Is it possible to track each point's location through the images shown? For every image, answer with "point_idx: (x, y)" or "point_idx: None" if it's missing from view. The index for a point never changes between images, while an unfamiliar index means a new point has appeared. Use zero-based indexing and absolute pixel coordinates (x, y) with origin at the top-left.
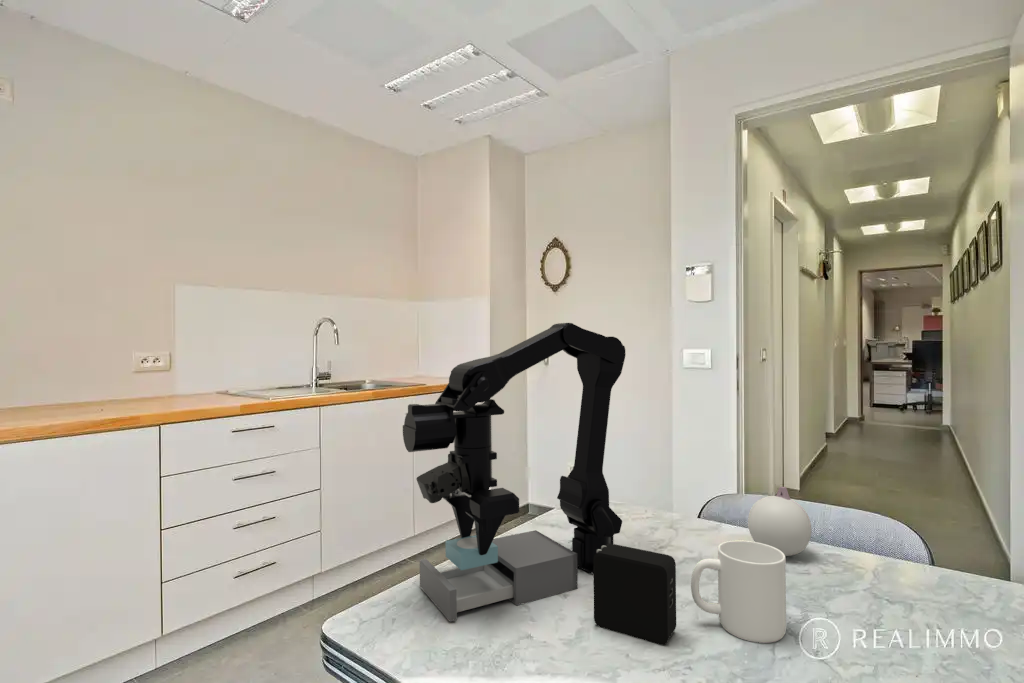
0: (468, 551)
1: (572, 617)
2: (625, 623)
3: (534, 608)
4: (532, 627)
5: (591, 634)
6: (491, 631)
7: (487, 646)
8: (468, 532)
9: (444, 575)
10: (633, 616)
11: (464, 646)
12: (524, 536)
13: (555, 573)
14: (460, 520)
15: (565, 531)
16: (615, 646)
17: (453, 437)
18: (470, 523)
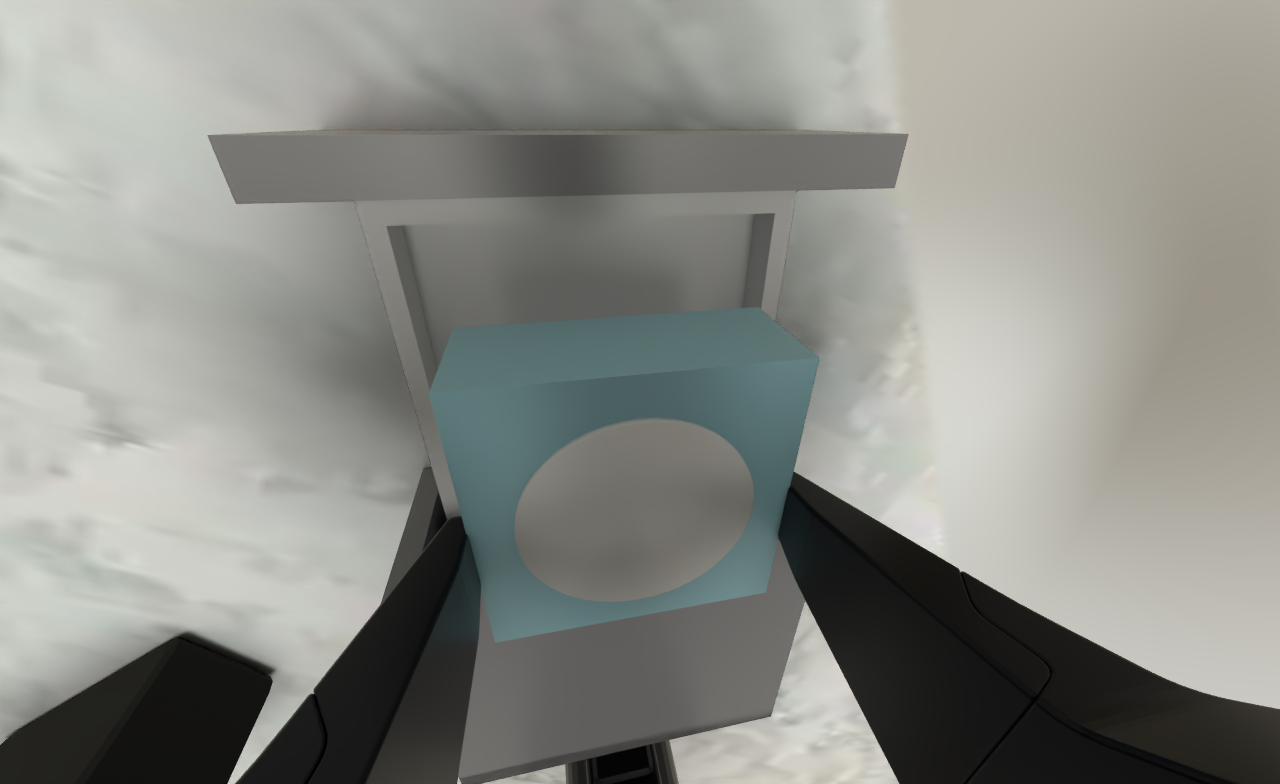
0: (467, 464)
1: (268, 593)
2: (68, 721)
3: (378, 514)
4: (206, 466)
5: (115, 609)
6: (190, 305)
7: (5, 230)
8: (793, 552)
9: (756, 274)
10: (14, 772)
11: (4, 104)
12: (741, 682)
13: None
14: (894, 601)
15: (840, 695)
16: (7, 643)
17: None
18: (834, 626)
